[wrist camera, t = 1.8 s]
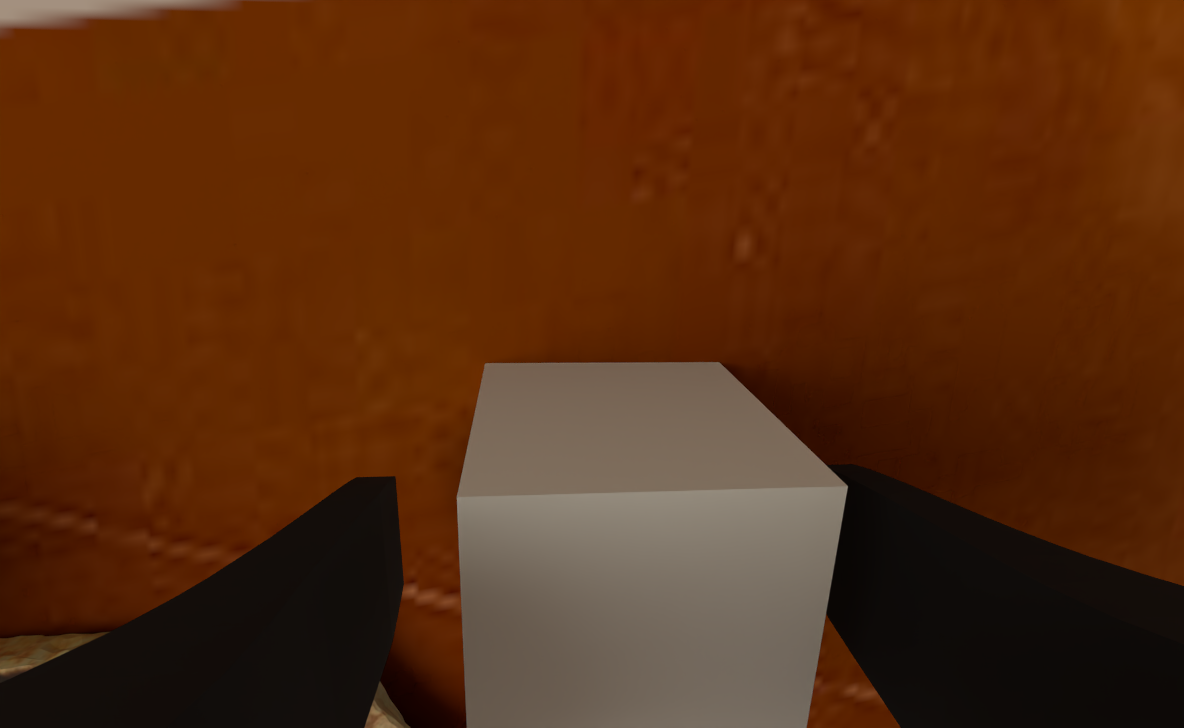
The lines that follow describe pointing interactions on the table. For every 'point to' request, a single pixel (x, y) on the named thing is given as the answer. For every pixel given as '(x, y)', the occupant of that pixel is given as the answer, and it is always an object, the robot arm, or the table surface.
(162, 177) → the table surface
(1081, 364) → the table surface
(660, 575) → the cream block
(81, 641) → the shard
